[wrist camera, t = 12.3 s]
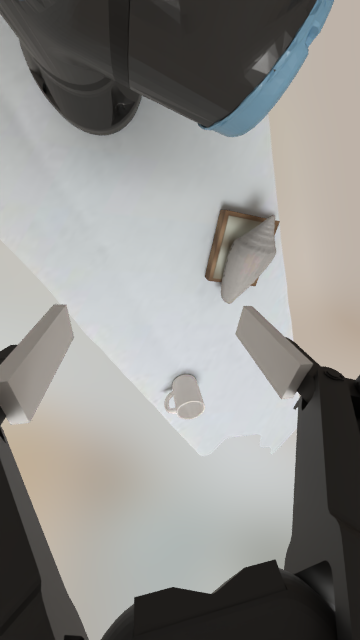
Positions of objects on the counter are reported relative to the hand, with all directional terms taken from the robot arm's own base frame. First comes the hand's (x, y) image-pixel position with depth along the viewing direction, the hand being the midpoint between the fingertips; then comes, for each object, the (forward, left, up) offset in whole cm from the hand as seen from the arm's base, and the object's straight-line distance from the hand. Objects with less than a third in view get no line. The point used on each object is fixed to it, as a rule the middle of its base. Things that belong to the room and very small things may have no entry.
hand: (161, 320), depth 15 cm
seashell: (0, +19, -27) cm, 33 cm away
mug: (+42, +13, -30) cm, 53 cm away
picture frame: (-2, +19, -30) cm, 36 cm away
